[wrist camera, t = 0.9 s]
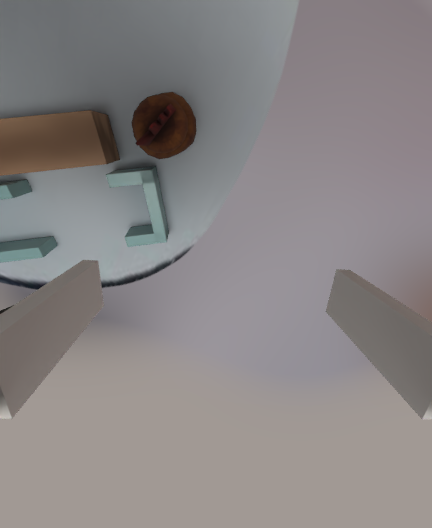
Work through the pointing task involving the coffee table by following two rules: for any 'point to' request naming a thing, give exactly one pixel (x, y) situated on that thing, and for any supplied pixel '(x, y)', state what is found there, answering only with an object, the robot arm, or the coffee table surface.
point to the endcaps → (115, 179)
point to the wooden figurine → (164, 125)
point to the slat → (55, 142)
